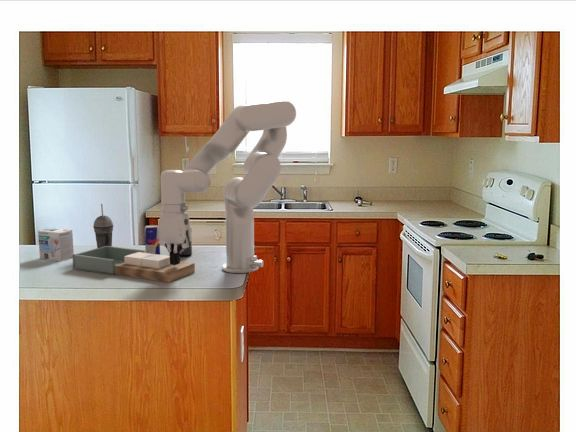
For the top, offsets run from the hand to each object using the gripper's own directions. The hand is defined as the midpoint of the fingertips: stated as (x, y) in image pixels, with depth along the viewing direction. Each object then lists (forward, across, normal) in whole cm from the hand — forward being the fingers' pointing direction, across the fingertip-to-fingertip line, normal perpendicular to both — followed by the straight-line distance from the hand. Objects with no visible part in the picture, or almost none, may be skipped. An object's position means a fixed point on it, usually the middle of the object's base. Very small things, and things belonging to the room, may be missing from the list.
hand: (175, 263), depth 173 cm
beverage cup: (+4, +41, -12) cm, 43 cm away
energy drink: (+4, +23, -17) cm, 29 cm away
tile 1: (+1, +15, 0) cm, 15 cm away
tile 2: (+1, +7, 0) cm, 7 cm away
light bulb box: (+5, +55, -2) cm, 56 cm away
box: (+4, +28, 0) cm, 29 cm away
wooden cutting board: (+4, +8, 0) cm, 9 cm away
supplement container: (+4, +15, -25) cm, 30 cm away
